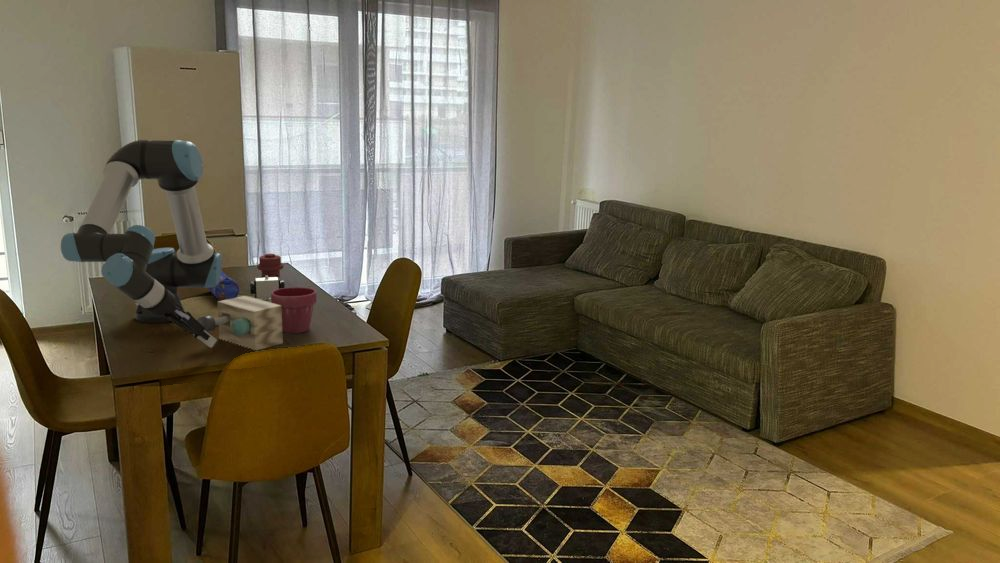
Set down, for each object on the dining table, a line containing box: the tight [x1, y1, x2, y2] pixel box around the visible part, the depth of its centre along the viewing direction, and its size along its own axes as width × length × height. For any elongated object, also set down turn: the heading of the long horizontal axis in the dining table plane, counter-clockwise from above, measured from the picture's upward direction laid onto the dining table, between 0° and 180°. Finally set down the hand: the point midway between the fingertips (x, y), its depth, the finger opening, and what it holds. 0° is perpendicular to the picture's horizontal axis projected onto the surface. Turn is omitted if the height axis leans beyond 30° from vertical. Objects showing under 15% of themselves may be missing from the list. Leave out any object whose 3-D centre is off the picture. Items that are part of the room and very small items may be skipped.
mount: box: [216, 295, 284, 351], centre depth 240 cm, size 10×18×12 cm, turn 54°
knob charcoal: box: [196, 315, 230, 333], centre depth 237 cm, size 12×5×5 cm, turn 144°
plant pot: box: [271, 286, 317, 334], centre depth 254 cm, size 14×14×13 cm
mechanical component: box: [257, 253, 284, 279], centre depth 313 cm, size 12×10×10 cm
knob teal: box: [232, 318, 250, 336], centre depth 236 cm, size 12×5×5 cm, turn 144°
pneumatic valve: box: [249, 276, 286, 303], centre depth 278 cm, size 6×12×12 cm, turn 110°
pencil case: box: [206, 271, 240, 301], centre depth 293 cm, size 22×9×10 cm, turn 32°
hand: (212, 343), depth 225 cm, fingers closed
